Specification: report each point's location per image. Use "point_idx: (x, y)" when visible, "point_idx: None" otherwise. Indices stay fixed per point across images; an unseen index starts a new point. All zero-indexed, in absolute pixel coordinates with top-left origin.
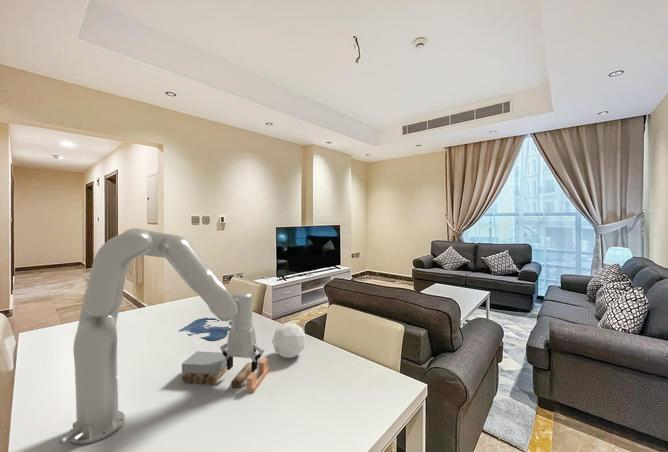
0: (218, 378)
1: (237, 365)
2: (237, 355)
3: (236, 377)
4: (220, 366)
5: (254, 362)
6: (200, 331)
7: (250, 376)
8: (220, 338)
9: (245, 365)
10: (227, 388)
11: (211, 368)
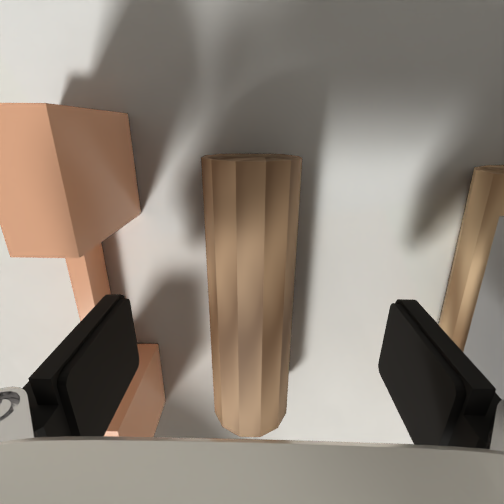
0: (458, 243)
1: (367, 425)
2: (299, 482)
3: (258, 202)
4: None
5: (39, 390)
6: None
7: (19, 158)
8: None
9: (275, 406)
10: (323, 140)
11: None
